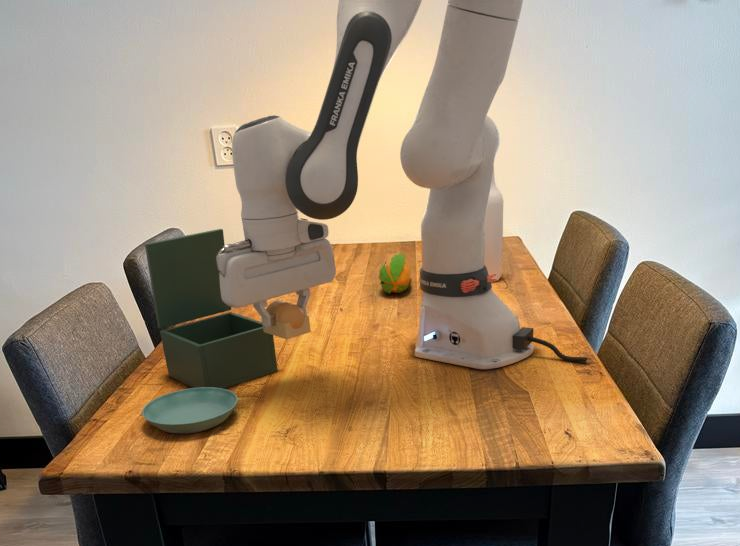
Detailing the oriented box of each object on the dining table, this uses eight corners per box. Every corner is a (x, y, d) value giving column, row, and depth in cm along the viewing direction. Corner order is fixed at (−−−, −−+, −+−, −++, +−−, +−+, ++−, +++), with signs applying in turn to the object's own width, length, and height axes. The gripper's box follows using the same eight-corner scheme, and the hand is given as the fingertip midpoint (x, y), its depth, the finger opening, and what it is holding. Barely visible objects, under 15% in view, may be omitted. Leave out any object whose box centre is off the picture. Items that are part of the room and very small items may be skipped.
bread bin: (277, 371, 139) (272, 325, 135) (206, 394, 131) (198, 346, 127) (237, 355, 148) (230, 311, 144) (168, 375, 141) (159, 330, 136)
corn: (376, 264, 173) (384, 245, 190) (376, 298, 177) (384, 277, 194) (410, 265, 172) (415, 246, 189) (409, 300, 176) (413, 278, 193)
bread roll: (312, 332, 127) (308, 302, 125) (288, 340, 125) (284, 309, 122) (285, 324, 133) (281, 295, 130) (261, 331, 130) (257, 302, 128)
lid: (223, 229, 136) (208, 224, 139) (146, 244, 128) (133, 238, 131) (231, 309, 144) (217, 303, 147) (160, 328, 136) (147, 321, 139)
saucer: (179, 398, 130) (176, 383, 129) (257, 406, 125) (254, 390, 124) (125, 434, 119) (121, 418, 117) (208, 444, 113) (205, 427, 112)
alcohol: (492, 284, 182) (495, 143, 167) (458, 281, 186) (457, 143, 171) (507, 275, 188) (511, 138, 173) (474, 273, 192) (474, 139, 177)
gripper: (225, 249, 114) (241, 341, 120) (336, 223, 124) (345, 309, 131) (204, 245, 118) (221, 334, 125) (313, 221, 129) (323, 304, 135)
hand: (285, 321), depth 128 cm, fingers closed on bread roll, 5 cm apart
